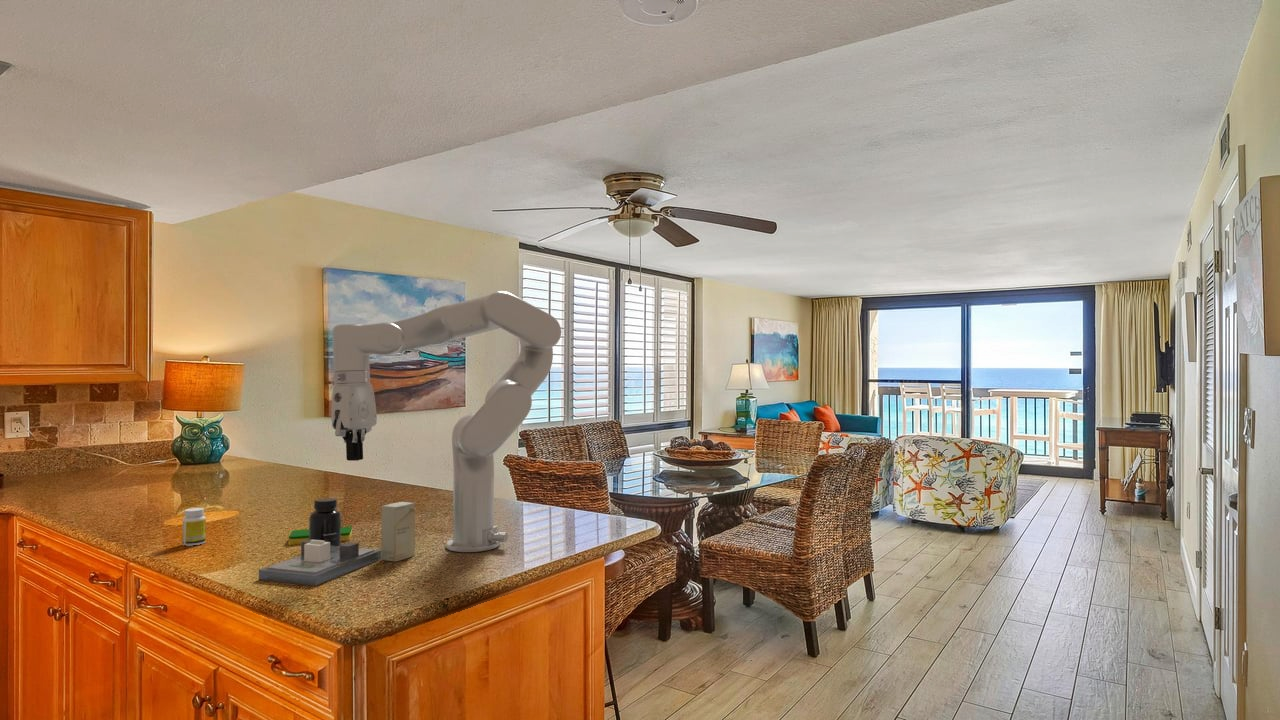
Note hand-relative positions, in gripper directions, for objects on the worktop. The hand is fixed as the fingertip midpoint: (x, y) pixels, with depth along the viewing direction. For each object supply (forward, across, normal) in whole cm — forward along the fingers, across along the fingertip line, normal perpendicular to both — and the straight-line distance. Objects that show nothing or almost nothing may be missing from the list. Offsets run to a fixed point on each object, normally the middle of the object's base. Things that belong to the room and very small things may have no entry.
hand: (354, 459), depth 157 cm
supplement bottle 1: (+21, -1, +46) cm, 51 cm away
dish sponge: (+22, +11, +20) cm, 32 cm away
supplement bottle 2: (+22, +2, +11) cm, 25 cm away
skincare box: (+23, +2, -9) cm, 24 cm away
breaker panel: (+22, -10, +1) cm, 24 cm away
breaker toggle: (+19, -11, +1) cm, 23 cm away
